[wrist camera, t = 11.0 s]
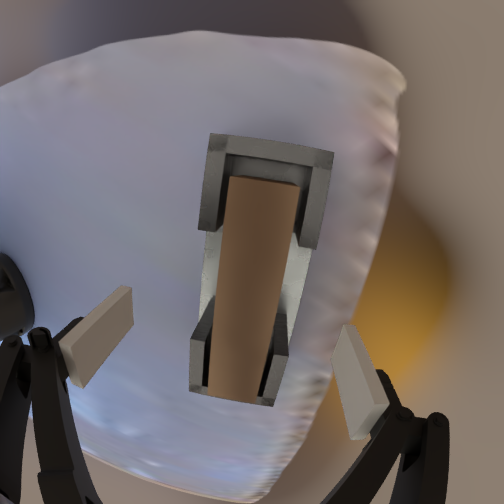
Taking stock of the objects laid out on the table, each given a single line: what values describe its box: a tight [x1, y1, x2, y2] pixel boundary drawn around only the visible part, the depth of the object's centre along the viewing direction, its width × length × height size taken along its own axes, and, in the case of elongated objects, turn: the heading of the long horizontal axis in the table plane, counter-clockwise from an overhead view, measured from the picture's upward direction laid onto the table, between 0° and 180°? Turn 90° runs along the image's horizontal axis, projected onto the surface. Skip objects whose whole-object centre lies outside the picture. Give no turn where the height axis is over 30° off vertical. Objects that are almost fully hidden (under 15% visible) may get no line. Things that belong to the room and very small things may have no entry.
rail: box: [207, 175, 300, 403], centre depth 20 cm, size 4×17×6 cm, turn 172°
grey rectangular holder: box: [189, 133, 334, 407], centre depth 23 cm, size 10×23×8 cm, turn 171°
